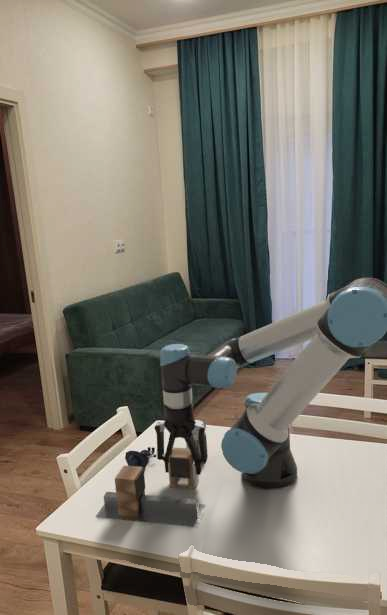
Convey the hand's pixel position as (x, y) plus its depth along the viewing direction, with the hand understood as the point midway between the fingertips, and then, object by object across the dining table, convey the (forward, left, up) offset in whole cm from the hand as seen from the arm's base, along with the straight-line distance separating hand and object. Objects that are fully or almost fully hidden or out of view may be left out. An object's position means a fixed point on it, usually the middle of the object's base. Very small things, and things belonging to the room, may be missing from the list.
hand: (184, 483), depth 131 cm
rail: (+5, +13, -1) cm, 14 cm away
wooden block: (+10, +13, 0) cm, 16 cm away
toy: (+16, -10, -1) cm, 19 cm away
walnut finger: (0, 0, -1) cm, 1 cm away
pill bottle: (0, -15, -1) cm, 15 cm away
